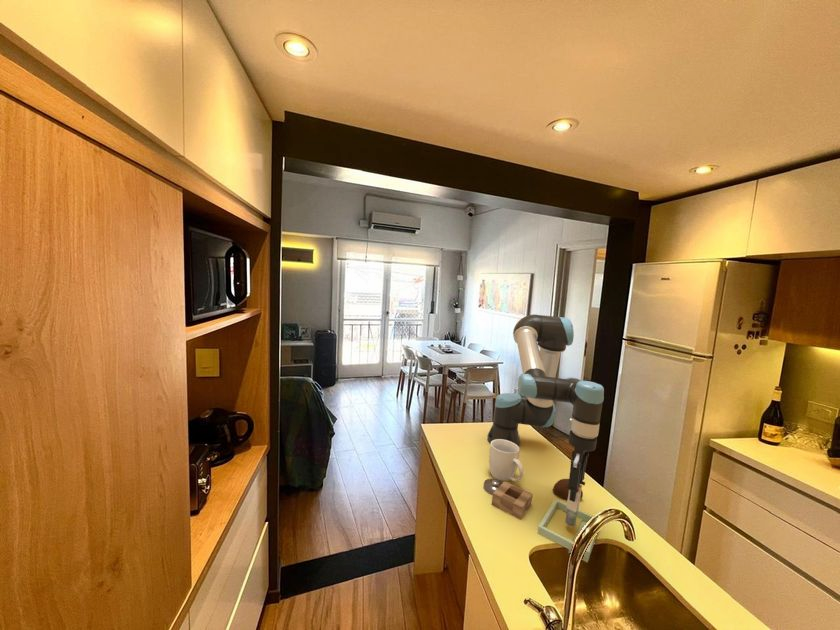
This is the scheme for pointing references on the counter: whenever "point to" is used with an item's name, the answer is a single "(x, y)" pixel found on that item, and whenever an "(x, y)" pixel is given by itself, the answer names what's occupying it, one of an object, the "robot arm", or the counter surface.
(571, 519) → the pin
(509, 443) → the mug
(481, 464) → the counter surface
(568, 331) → the robot arm
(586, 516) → the light teal rectangular frame
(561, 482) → the potato
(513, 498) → the block
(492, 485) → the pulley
